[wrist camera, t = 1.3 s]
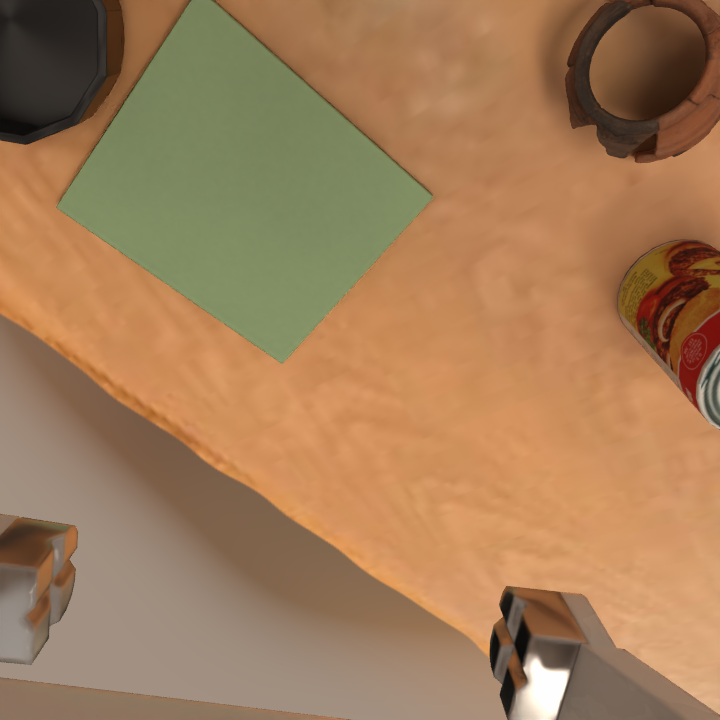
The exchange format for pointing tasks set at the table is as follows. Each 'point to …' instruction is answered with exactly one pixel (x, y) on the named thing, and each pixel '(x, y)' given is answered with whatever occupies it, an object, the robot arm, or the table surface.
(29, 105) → the pan
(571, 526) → the table surface
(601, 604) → the table surface
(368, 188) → the trivet
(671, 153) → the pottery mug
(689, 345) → the canned food
